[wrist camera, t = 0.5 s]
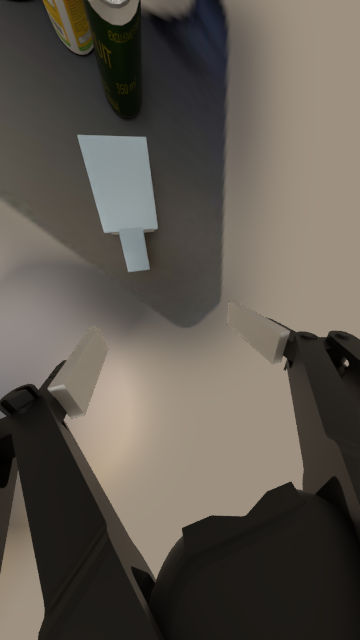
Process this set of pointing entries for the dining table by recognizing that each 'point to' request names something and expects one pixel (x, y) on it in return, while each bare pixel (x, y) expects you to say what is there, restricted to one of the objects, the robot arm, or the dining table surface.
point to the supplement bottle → (70, 24)
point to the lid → (122, 191)
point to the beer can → (118, 51)
